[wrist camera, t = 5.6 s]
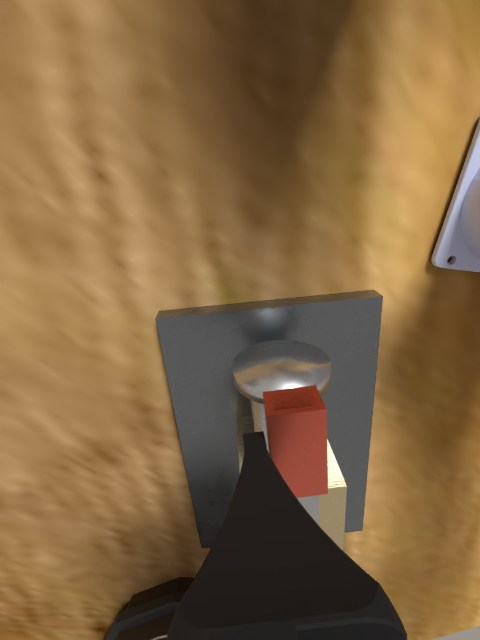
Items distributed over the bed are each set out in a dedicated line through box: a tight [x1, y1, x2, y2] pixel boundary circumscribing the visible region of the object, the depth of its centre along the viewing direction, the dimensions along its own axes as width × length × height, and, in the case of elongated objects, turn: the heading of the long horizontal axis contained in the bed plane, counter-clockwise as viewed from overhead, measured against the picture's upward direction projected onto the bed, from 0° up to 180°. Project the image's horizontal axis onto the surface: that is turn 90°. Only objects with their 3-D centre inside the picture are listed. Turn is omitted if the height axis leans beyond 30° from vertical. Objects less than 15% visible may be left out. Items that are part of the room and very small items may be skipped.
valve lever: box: [263, 385, 328, 526], centre depth 14 cm, size 11×2×1 cm, turn 7°
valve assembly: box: [156, 290, 383, 550], centre depth 20 cm, size 20×13×8 cm, turn 5°
